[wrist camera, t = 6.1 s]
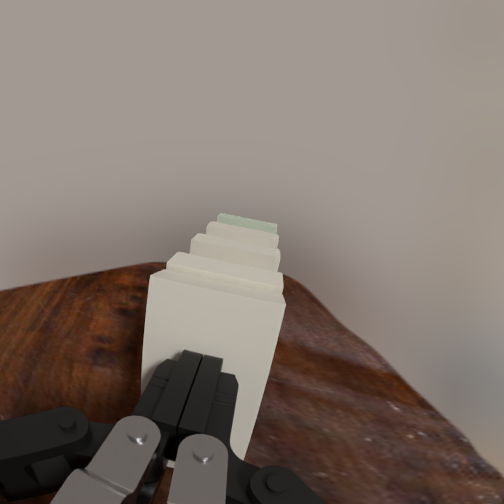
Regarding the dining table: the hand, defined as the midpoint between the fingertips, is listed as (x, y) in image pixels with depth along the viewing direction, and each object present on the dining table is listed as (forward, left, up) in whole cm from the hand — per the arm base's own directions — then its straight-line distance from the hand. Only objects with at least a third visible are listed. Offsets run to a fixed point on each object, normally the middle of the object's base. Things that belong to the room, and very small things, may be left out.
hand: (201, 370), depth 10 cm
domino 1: (0, 0, -7) cm, 7 cm away
